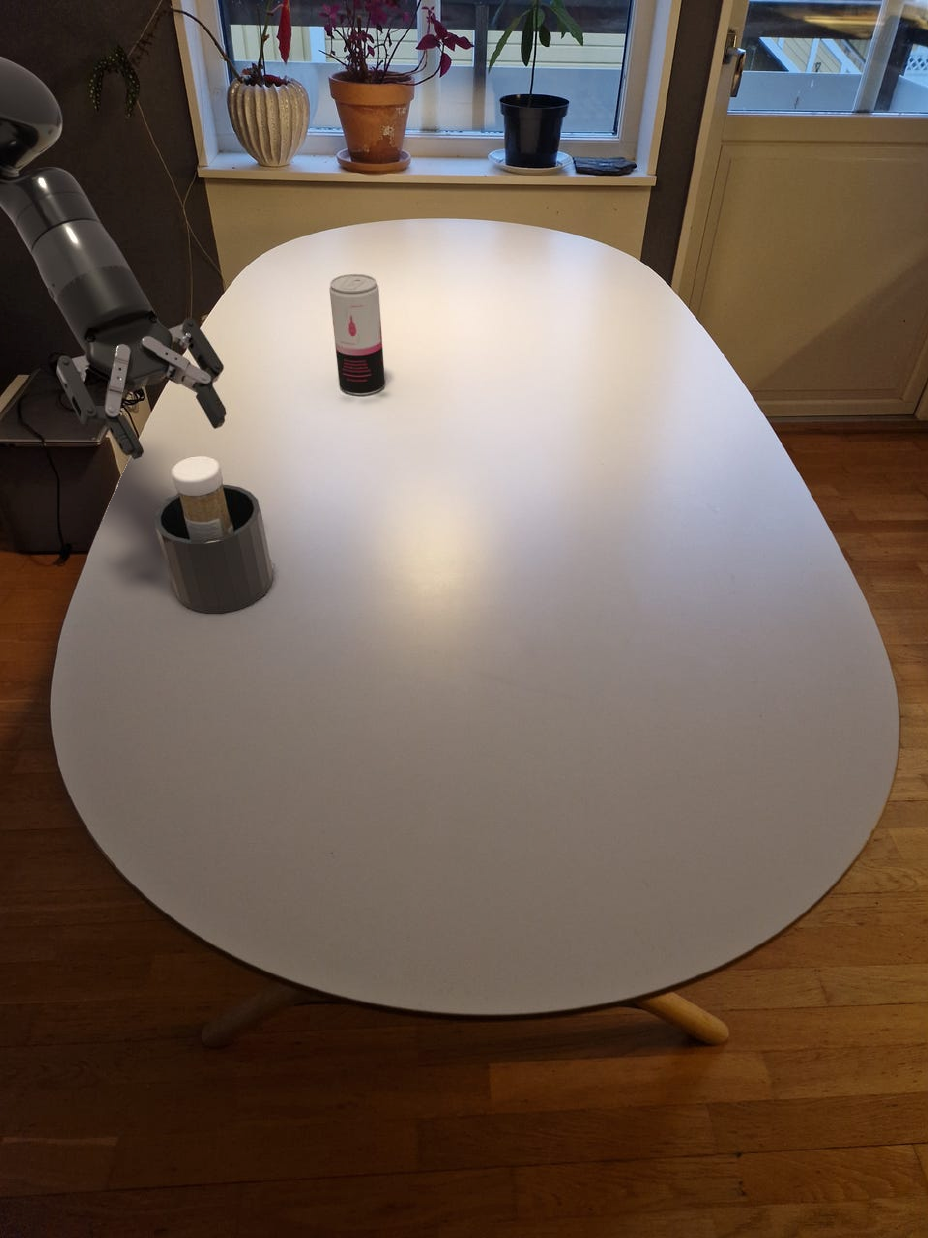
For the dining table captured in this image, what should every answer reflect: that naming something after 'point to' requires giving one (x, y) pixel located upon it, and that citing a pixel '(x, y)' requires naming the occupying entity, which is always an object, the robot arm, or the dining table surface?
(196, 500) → the sprinkles bottle
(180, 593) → the dark gray cylindrical container
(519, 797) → the dining table surface
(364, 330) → the beverage can
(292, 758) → the dining table surface
